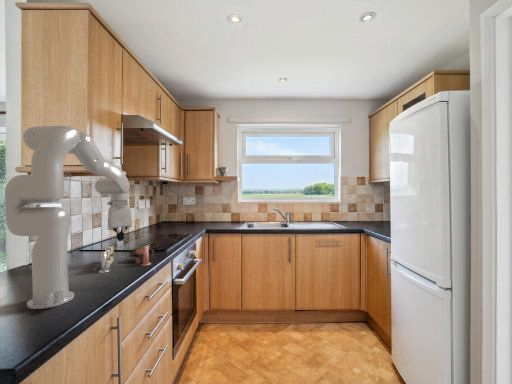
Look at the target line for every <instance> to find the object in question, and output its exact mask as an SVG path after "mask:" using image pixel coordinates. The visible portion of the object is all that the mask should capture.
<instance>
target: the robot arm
mask: <svg viewBox="0 0 512 384" xmlns="http://www.w3.org/2000/svg"><path fill="white" fill-rule="evenodd" d="M22 139H23V143H24V144H25V145H26V147H27V148H28V149H31V150H32V151H34V152H33V153H32V156H31V162H30V166H31V167H30V174H19V175H16V176H14V177H11V178H10V179H9V180H8V182H7V183H6V186H5V189H4V190H5V191H4V200H5V201H4V202H5V203H4V204H5V222H6V228H7V229H8V231H9V232H10V233H11V234H12V235H14V236H18V237H37V239H36V241H35V242H34V244H33V246H32V248H31V265H32V266H31V271H32V273H31V275H32V279H31V280H32V298H31V299H29V300H28V301H27V302H26V307H27V309H30V310H43V309H45V310H46V309H49V308H54V307H58V306H61V305H64V304H66V303H68V302H70V301H72V300H73V299H74V298H75V293H74V292H73V291H70V290H69V261H68V260H69V259H68V258H69V257H68V256H69V255H68V237H69V231H70V227H71V226H70V225H71V216H70V213H69V212H68V211H67V210H66V209H64V208H61V207H58V206H38V207H37V206H35V204H46V203H47V204H48V203H51V204H52V203H56V202H59V201H61V199H62V198H63V197H64V192H65V186H64V185H65V183H64V182H65V181H64V178H65V177H64V162H65V159H66V157H67V155H68V154H69V155H70V154H73V155H75V157H76V158H77V160H78V161H79V163H80V164H81V166H82V167H83V168H84V170H86V171H88V172H89V173H92V174H94V175H98V176H102V178H99V179H98V180H97V181H95V183H94V190H95V192H97V193H98V194H101V195H109V196H110V200H109V201H107V203H106V204H107V205H109V208H108V213H107V225H108V226H107V230H109V231H114V232H115V233H116V240H117V241H118V242H123V241H124V239H125V232H126V231H127V229H131V228H132V226H133V225H132V224H133V217H132V210H131V206H130V205H128V204H129V203H128V192H129V190H130V181H129V180H128V177H127V175H126V174H125V172H124V171H123V170H122V169H121V168H120V167H118V166H117V165H116V164H113V163H112V162H110V161H108V160H106V159H105V158H104V156H103V154H102V153H101V151H100V149H99V148H98V146H97V144H96V143H95V142H94V140H93V138H92V136H90V135H89V133H86V132H84V131H78V130H77V129H76V128H75V127H73V126H70V125H46V126H44V125H43V126H31V127H29V128H26V129H25V131H24V132H23V134H22ZM103 177H106V178H103Z"/></svg>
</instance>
